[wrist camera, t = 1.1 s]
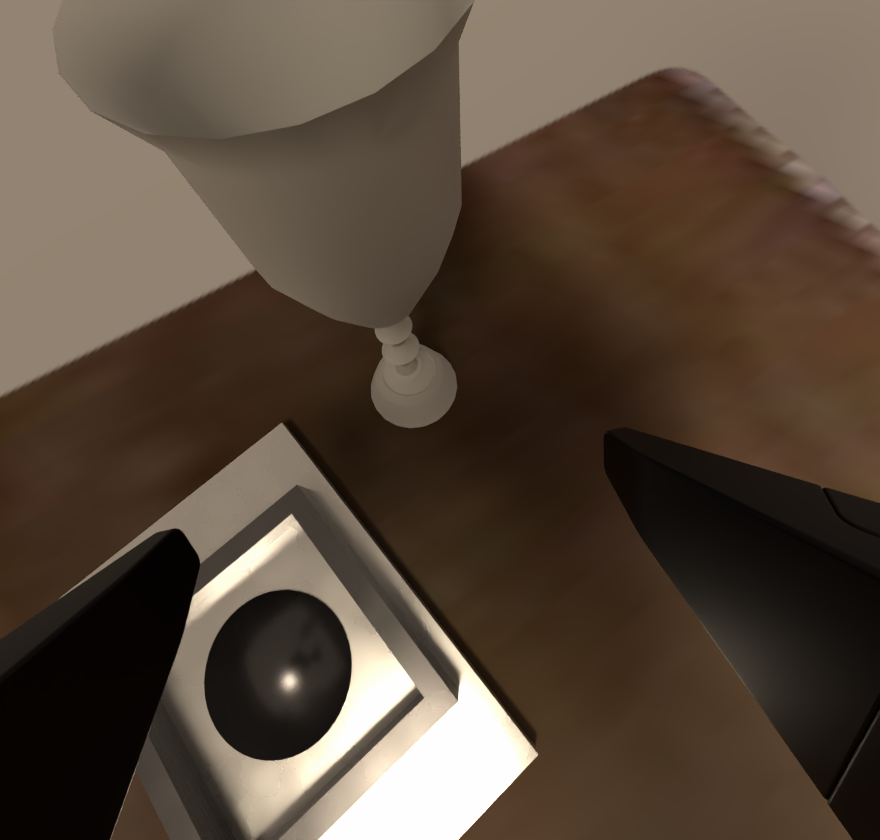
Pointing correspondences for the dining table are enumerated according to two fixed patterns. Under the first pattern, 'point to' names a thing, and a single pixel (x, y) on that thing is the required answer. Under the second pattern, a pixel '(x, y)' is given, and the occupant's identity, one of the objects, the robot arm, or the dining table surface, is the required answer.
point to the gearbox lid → (313, 677)
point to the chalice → (302, 146)
